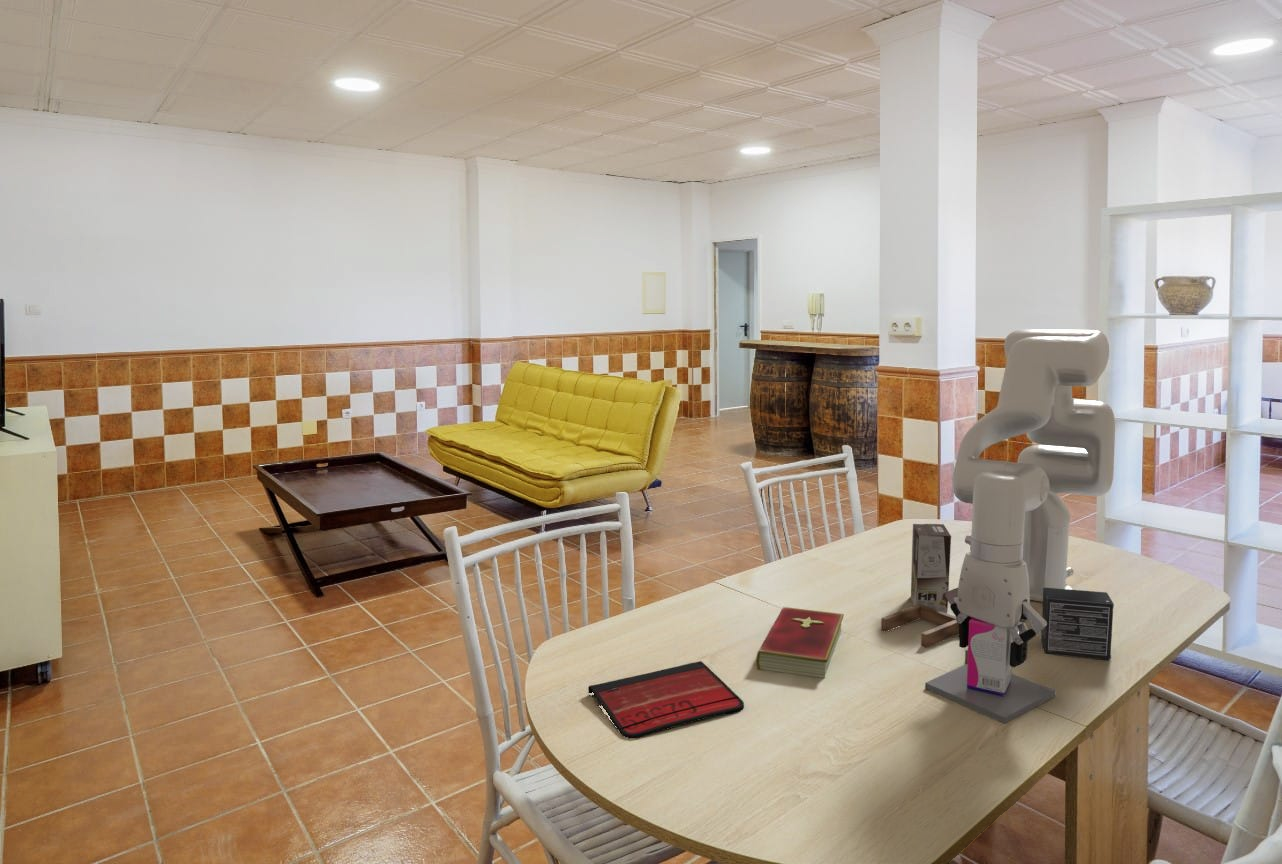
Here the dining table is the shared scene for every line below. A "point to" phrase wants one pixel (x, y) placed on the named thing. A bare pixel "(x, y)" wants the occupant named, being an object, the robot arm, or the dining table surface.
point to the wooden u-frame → (945, 621)
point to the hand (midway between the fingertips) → (991, 654)
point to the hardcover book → (800, 642)
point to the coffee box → (930, 565)
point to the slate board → (991, 695)
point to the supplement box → (988, 658)
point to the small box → (1077, 623)
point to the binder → (665, 699)
